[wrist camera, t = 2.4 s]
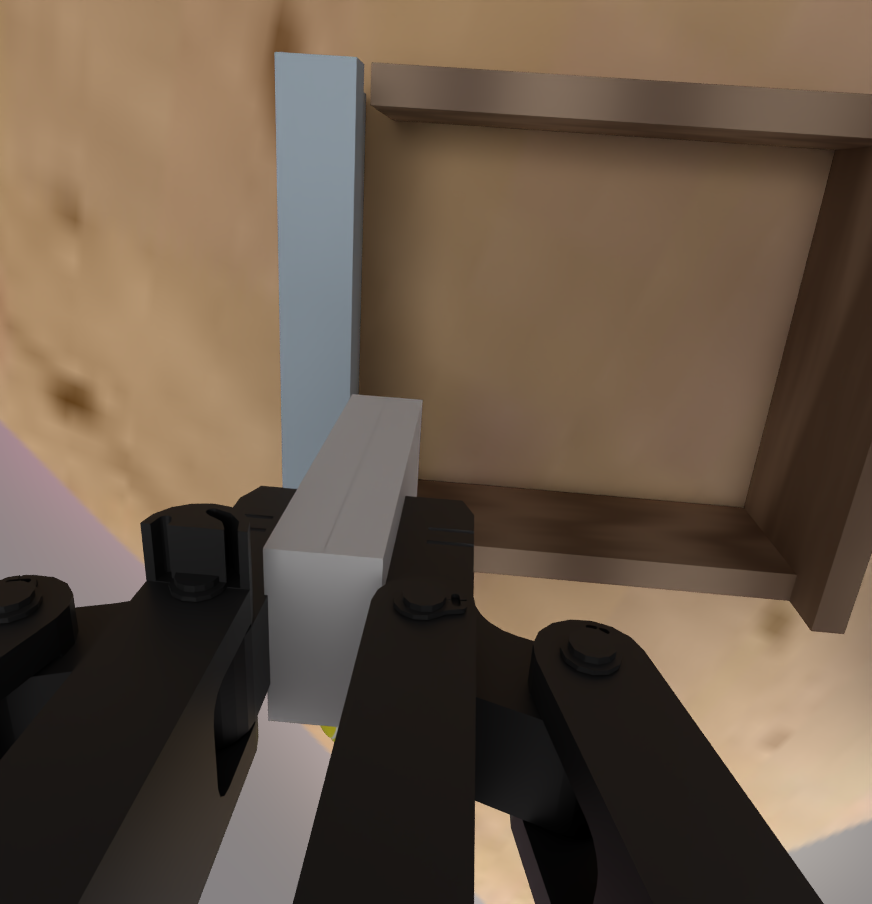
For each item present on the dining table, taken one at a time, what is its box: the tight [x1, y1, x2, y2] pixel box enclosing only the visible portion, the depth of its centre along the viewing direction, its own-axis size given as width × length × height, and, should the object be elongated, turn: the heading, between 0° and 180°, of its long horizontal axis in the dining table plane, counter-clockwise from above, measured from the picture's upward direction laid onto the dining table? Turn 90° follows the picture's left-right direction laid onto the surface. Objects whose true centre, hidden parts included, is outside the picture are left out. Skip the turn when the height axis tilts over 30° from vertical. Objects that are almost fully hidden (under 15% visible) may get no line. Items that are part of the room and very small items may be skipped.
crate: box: [371, 62, 872, 634], centre depth 26 cm, size 19×18×8 cm
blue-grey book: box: [275, 52, 366, 489], centre depth 26 cm, size 2×17×9 cm, turn 176°
